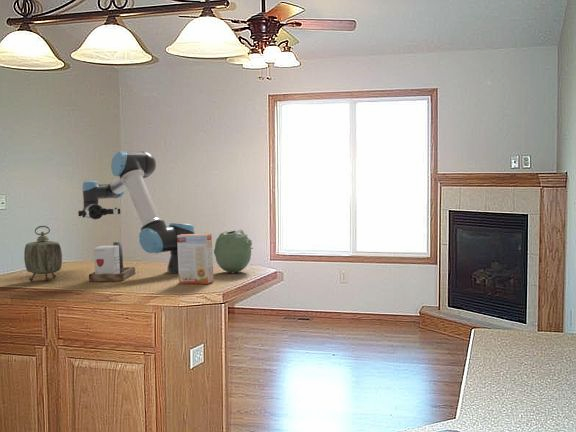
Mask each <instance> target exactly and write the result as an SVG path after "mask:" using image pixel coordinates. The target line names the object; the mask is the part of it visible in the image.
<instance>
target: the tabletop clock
mask: <svg viewBox="0 0 576 432" xmlns="http://www.w3.org/2000/svg"><path fill="white" fill-rule="evenodd" d="M40 228H46V229H48V231H47V232H45V233H44V231H41V232H40V233H38V232H37V230H38V229H40ZM50 231H51V229H50V227H49V226H47V225H39V226H37V227H36V228H35V229H34V233H35V234H36V235H38V236H37V239H36V241H32V242H28V243H26V244H25V246H24V254H23V255H24V256H23V257H24V258H23V260H24V266H25V270H26V272H27V273H31V274H32V276H31V277H29V282H32V281H34V277H35V276H36V275H45V278H44V280H45V281H46V282H49V280H50V278H49V277H48V274H51V275H52V277H51V278H53V279H56V274H55V273H56V272H59V271H60V270H61V269H62V265H63V263H62V262H63V253H62V246H61V245H60V243H59V242H58V241H50V239H49V237H48V236H46V235H48V234H49V233H50Z"/></svg>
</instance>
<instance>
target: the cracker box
mask: <svg viewBox="0 0 576 432" xmlns="http://www.w3.org/2000/svg"><path fill="white" fill-rule="evenodd" d="M177 248H178V272H179V273H178V284H192V285H193V284H195V285H208V284H211V283H214V280H215V279H214V261H213V260H214V258H213V253H214V252H213V234H212V233H195V234H181V235H177Z"/></svg>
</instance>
